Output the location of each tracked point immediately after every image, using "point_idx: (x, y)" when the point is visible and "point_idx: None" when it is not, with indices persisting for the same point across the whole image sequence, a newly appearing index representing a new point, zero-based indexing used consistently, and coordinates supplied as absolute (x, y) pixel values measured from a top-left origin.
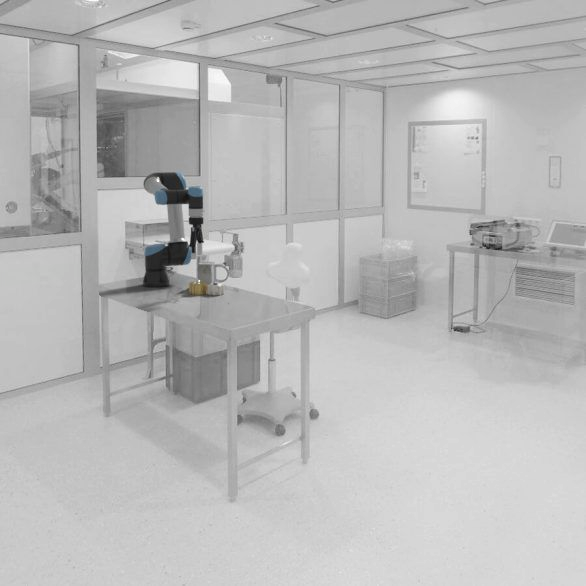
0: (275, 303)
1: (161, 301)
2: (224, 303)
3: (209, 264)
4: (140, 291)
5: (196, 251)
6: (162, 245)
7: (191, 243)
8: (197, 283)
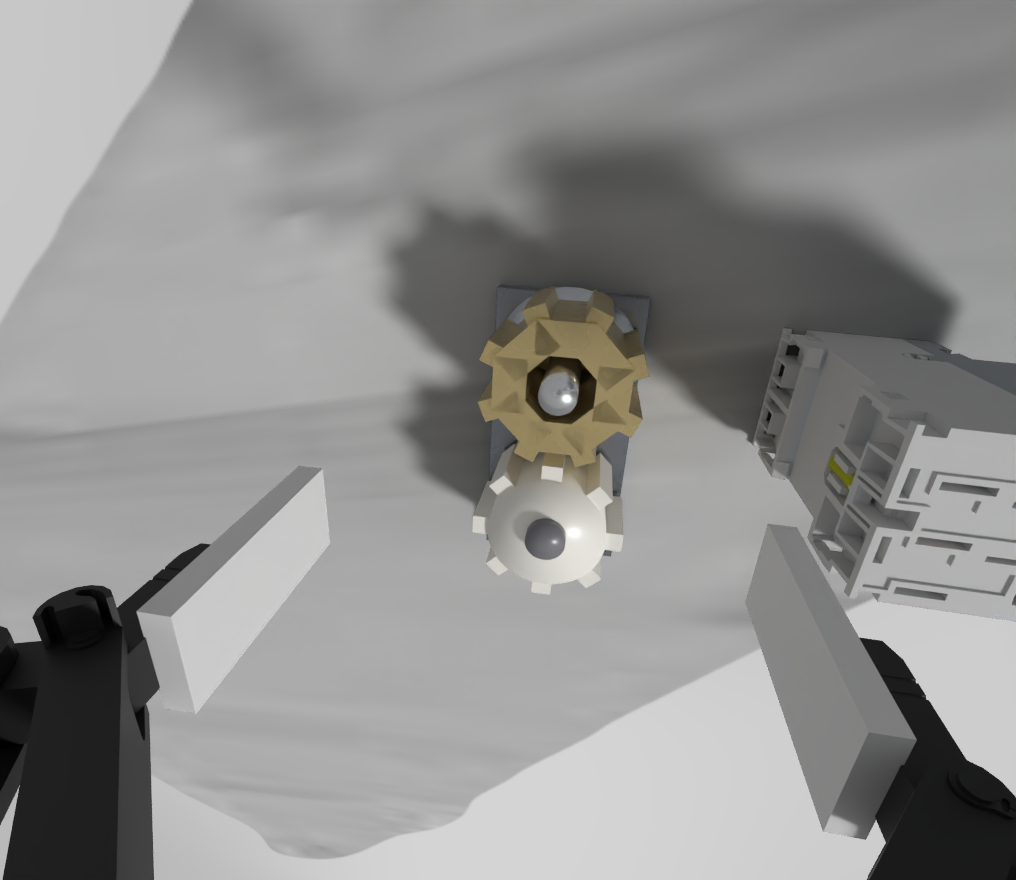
0: (380, 768)
1: (303, 61)
2: (331, 548)
3: (856, 577)
4: None
5: (259, 630)
6: None
7: (44, 694)
8: (510, 394)
